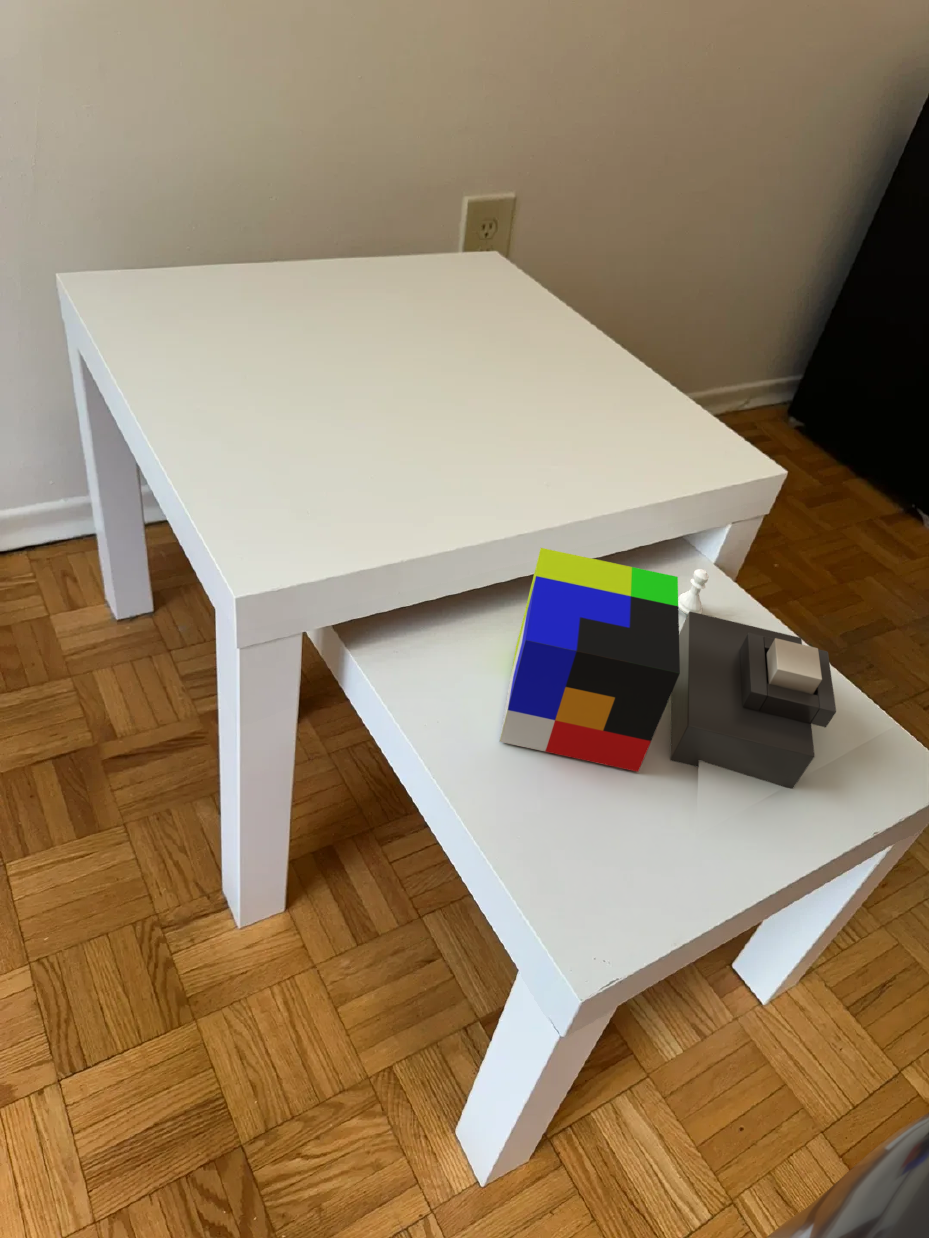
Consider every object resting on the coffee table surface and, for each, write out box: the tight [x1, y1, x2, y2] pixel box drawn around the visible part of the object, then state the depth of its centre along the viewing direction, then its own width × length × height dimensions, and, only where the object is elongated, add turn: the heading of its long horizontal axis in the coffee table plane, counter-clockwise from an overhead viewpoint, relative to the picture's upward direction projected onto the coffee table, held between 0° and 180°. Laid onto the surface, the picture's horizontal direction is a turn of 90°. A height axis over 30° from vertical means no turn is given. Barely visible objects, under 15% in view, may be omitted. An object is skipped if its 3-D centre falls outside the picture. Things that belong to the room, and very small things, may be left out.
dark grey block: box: [669, 611, 837, 790], centre depth 70 cm, size 12×10×6 cm
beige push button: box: [766, 638, 822, 694], centre depth 67 cm, size 3×3×2 cm
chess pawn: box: [678, 568, 710, 615], centre depth 79 cm, size 3×2×4 cm
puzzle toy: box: [499, 547, 680, 773], centre depth 66 cm, size 10×10×10 cm
